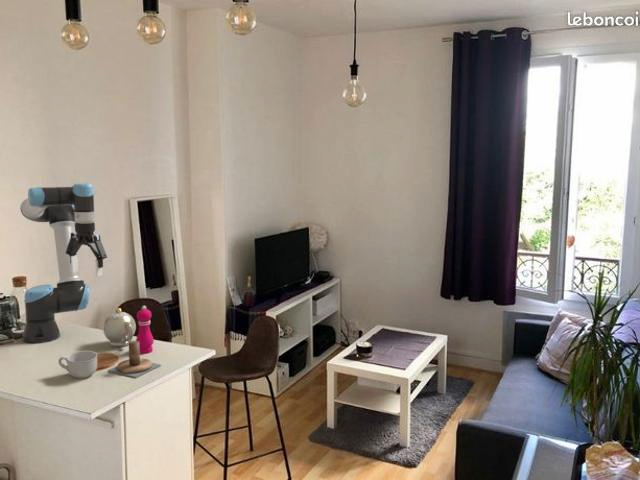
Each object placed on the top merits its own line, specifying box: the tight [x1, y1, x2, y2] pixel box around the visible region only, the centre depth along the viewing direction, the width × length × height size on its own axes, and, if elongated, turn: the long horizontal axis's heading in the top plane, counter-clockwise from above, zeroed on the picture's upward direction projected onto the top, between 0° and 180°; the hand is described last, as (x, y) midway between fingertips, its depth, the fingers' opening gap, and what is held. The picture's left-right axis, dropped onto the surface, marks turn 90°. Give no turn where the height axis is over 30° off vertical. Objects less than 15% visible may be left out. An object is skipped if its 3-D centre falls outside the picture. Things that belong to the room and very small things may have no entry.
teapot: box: [102, 307, 137, 348], centre depth 256 cm, size 18×14×16 cm
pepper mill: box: [135, 305, 154, 355], centre depth 249 cm, size 7×7×20 cm
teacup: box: [57, 350, 98, 379], centre depth 223 cm, size 14×11×8 cm
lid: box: [116, 340, 153, 374], centre depth 230 cm, size 13×13×10 cm
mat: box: [107, 362, 162, 379], centre depth 231 cm, size 14×14×1 cm
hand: (86, 273), depth 239 cm, fingers open, 13 cm apart
